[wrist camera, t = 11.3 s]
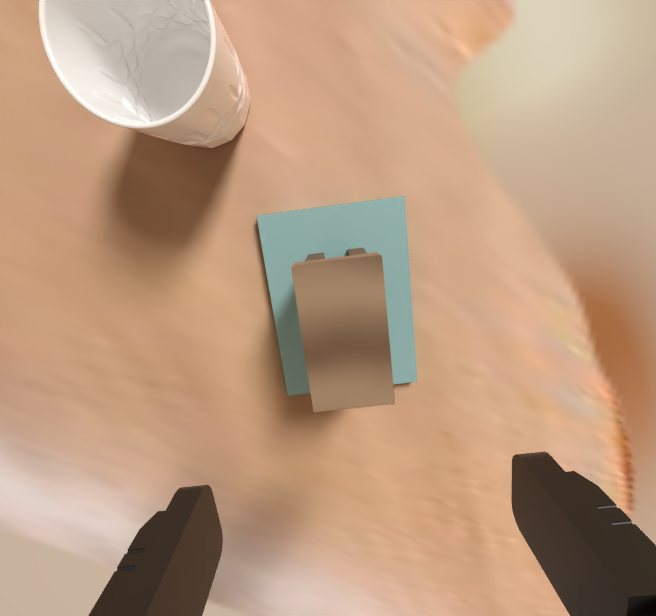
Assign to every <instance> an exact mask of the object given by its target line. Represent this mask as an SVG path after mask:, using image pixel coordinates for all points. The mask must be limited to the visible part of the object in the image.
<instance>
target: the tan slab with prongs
mask: <svg viewBox="0 0 656 616" xmlns="http://www.w3.org/2000/svg"><path fill="white" fill-rule="evenodd" d="M291 271H292V277H293V283H294V290H295V296H296V303H297V309H298V316H299V322H300V328H301V335H302V341H303V348H304V354H305V361H306V367H307V373H308V380H309V386H310V393H311V399H312V406H313V412H323V411H332V410H341V409H351V408H360V407H369V406H378V405H388V404H395V397H394V386H393V374H392V363H391V352H390V340H389V329H388V318H387V306H386V295H385V284H384V272H383V261H382V256H381V255H380V254H379V253H378V252H374V253H367V252H366V250H365V249H364V248H355V249H348V256H343V257H335V258H327V259H325V257H324V253H316V254H308V256H307V258H306V260H305V261H303V262H295V263H294V264H293V266H292V267H291Z"/></svg>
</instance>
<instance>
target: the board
mask: <svg viewBox="0 0 656 616" xmlns="http://www.w3.org/2000/svg"><path fill="white" fill-rule="evenodd" d="M257 222H258V228H259V233H260V239H261V245H262V251H263V257H264V262H265V268H266V274H267V280H268V285H269V291H270V297H271V303H272V308H273V314H274V320H275V326H276V332H277V337H278V343H279V349H280V355H281V360H282V366H283V372H284V378H285V384H286V389H287V395H288V396H292V395H301V394H310V386H309V380H308V373H307V367H306V361H305V354H304V348H303V341H302V335H301V328H300V322H299V316H298V309H297V303H296V296H295V290H294V283H293V277H292V271H291V267H292V266H293V264H294V263H295V262H303V261H305V260H306V258H307V256H308V254H316V253H324V257H325V259H327V258H335V257H343V256H348V249H355V248H364V249H365V250H366V252H367V253H374V252H378V253H379V254H380V255H381V256H382V261H383V272H384V284H385V295H386V306H387V318H388V329H389V340H390V352H391V363H392V374H393V384H402V383H411V382H417V371H416V356H415V341H414V327H413V312H412V297H411V282H410V268H409V253H408V238H407V223H406V209H405V196H401V197H394V198H386V199H378V200H371V201H363V202H356V203H348V204H340V205H333V206H325V207H318V208H310V209H302V210H295V211H287V212H280V213H272V214H264V215H257Z"/></svg>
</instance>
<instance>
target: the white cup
mask: <svg viewBox="0 0 656 616" xmlns="http://www.w3.org/2000/svg"><path fill="white" fill-rule="evenodd" d="M39 25H40V32H41V37H42V41H43V45H44V48H45V51H46V54H47V57H48V59H49V62H50V64H51V66H52V68H53V70H54V72H55V74H56V75H57V77H58V79H59V80H60V82H61V83H62V85H63V86H64V87H65V89H66V90H67V91H68V92H69V93H70V95H71V96H72V97H73V98H74V99H75V100H76V101H77V102H78V103H79V104H80V105H82V106H83V107H84V108H85V109H86V110H88V111H89V112H91V113H92V114H94V115H95V116H97V117H99V118H100V119H102V120H104V121H107V122H109V123H111V124H114V125H117V126H121V127H124V128H127V129H131V130H134V131H137V132H141V133H144V134H147V135H150V136H154V137H157V138H160V139H164V140H169V141H172V142H176V143H180V144H185V145H190V146H197V147H205V148H214V147H217V146H219V145H222V144H224V143H227V142H229V141H231V140H232V139H233V138H234V137H235V136H236V135H237V133H238V132H239V131H240V130H241V129H242V127H243V126H244V125H245V122H246V119H247V115H248V111H249V107H250V103H251V102H250V95H249V89H248V82H247V78H246V76H245V74H244V72H243V70H242V68H241V65H240V62H239V59H238V57H237V54H236V52H235V50H234V48H233V46H232V43H231V41H230V39H229V37H228V35H227V33H226V31H225V29H224V27H223V25H222V23H221V21H220V19H219V17H218V15H217V13H216V11H215V9H214V7H213V5H212V3H211V1H210V0H39Z"/></svg>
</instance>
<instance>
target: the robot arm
mask: <svg viewBox="0 0 656 616" xmlns="http://www.w3.org/2000/svg"><path fill="white" fill-rule="evenodd" d="M512 509H513V514H514V517H515V520H516V523H517V525H518V528H519V530H520V532H521V533H522V535H523V537H524V538H525V540H526V542H527V543H528V545H529V547H530V548H531V550H532V552H533V554H534V555H535V557H536V559H537V560H538V562H539V564H540V565H541V567H542V569H543V570H544V572H545V574H546V576H547V577H548V579H549V581H550V582H551V584H552V586H553V587H554V589H555V591H556V592H557V594H558V596H559V597H560V599H561V601H562V603H563V604H564V606H565V608H566V609H567V611H568V613H569V614H570V616H656V546H655V544H654V543H653V542H652V541H651V540H650V539H649V538H648V537H647V536H646V535H645V534H644V533H643V532H642V531H641V530H640V529H639V528H638V527H637V526H636V525H633V524H632V522H631V519H630V518H629V517H628V516H627V515H626V514H625V513H624V512H623V511H622V510H621V509H620V508H617V507H616V504H615V503H614V502H613V501H612V500H611V499H610V498H609V497H608V496H607V495H606V494H605V493H604V492H603V491H602V490H601V489H600V488H599V486H597V485H596V484H594V483H593V482H591V481H589V480H588V479H586V478H584V477H583V476H581V475H580V474H578V473H576V472H575V471H571V472H565V471H564V470H563V469H562V468H561V467H560V466H559V464H558V463H557V462H556V461H555V460H554V459H553V458H552V457H551V456H550V455H549V454H548V453H546V452H537V453H527V454H517V455H514V456H513V459H512ZM222 540H223V538H222V529H221V525H220V521H219V517H218V513H217V509H216V505H215V501H214V497H213V493H212V489H211V487H210V486H209V485H202V486H193V487H183V488H179V489H178V490H177V491H176V493H175V495H174V496H173V498H172V500H171V502H170V504H169V506H168V507H167V509H166V511H158V512H157V513H156V514H155V515H154V516H153V517H152V518H151V519H150V520H149V521H148V522H147V523H146V524H145V525H144V526H143V527H142V528H141V529H140V530H139V532H138V533H137V535H136V537H135V538H134V540H133V542H132V543H131V545H130V547H129V548H128V553H127V554H125V555H124V557H123V558H122V560H121V562H120V564H119V565H118V569H117V571H116V572H114V574H113V576H112V577H111V579H110V581H109V582H108V584H107V585H106V587H105V589H104V591H103V592H102V594H101V596H100V597H99V599H98V601H97V602H96V604H95V606H94V608H93V609H92V611H91V613H90V614H89V616H202V614H203V611H204V607H205V605H206V601H207V598H208V595H209V592H210V589H211V586H212V582H213V579H214V576H215V573H216V570H217V566H218V563H219V560H220V557H221V552H222Z"/></svg>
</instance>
